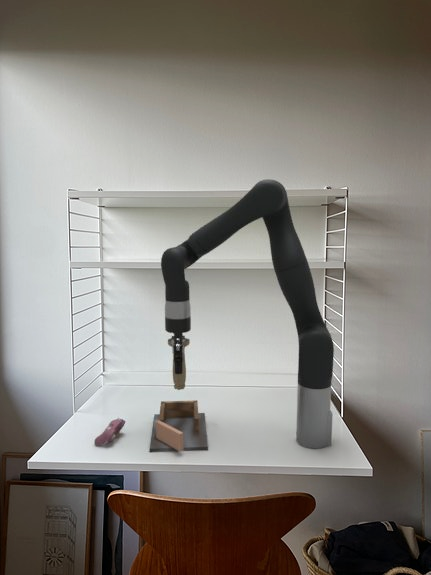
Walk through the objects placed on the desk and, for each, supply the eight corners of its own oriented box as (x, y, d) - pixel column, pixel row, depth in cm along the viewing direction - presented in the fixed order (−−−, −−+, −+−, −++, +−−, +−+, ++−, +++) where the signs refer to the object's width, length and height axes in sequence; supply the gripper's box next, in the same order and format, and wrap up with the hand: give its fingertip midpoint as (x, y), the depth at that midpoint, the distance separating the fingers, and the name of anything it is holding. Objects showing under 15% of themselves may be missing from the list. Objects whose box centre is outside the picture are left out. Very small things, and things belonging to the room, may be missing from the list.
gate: (183, 449, 129) (183, 432, 129) (179, 451, 128) (179, 434, 128) (157, 435, 138) (157, 418, 137) (153, 436, 137) (152, 420, 136)
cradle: (204, 415, 154) (204, 398, 153) (208, 450, 132) (207, 429, 131) (154, 417, 153) (153, 399, 152) (149, 452, 131) (149, 431, 130)
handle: (170, 385, 147) (169, 337, 144) (191, 385, 146) (190, 338, 144) (167, 391, 142) (166, 341, 140) (188, 391, 141) (188, 342, 139)
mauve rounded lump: (105, 452, 134) (114, 433, 132) (91, 444, 134) (101, 424, 133) (121, 436, 143) (130, 418, 141) (109, 428, 144) (117, 410, 142)
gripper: (191, 320, 134) (191, 379, 136) (190, 309, 148) (190, 363, 150) (163, 320, 133) (165, 379, 136) (165, 310, 147) (166, 363, 150)
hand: (178, 370), depth 143 cm, fingers closed on handle, 4 cm apart
